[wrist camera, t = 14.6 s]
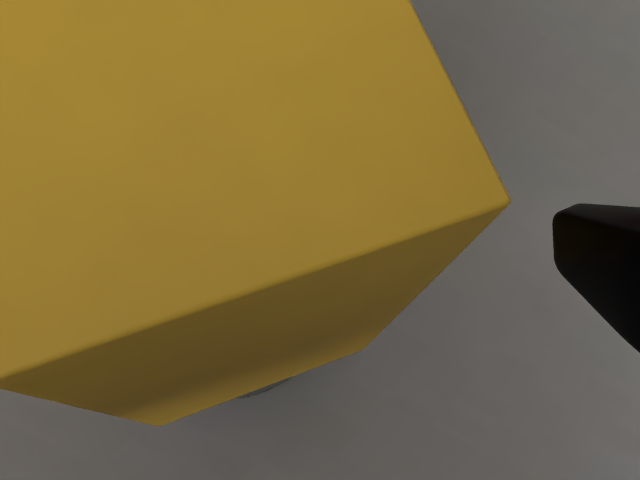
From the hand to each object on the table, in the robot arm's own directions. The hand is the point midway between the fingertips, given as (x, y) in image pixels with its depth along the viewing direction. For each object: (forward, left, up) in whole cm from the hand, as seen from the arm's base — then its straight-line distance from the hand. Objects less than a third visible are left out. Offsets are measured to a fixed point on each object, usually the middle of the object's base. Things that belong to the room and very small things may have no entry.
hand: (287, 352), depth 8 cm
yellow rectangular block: (+2, +3, -6) cm, 7 cm away
